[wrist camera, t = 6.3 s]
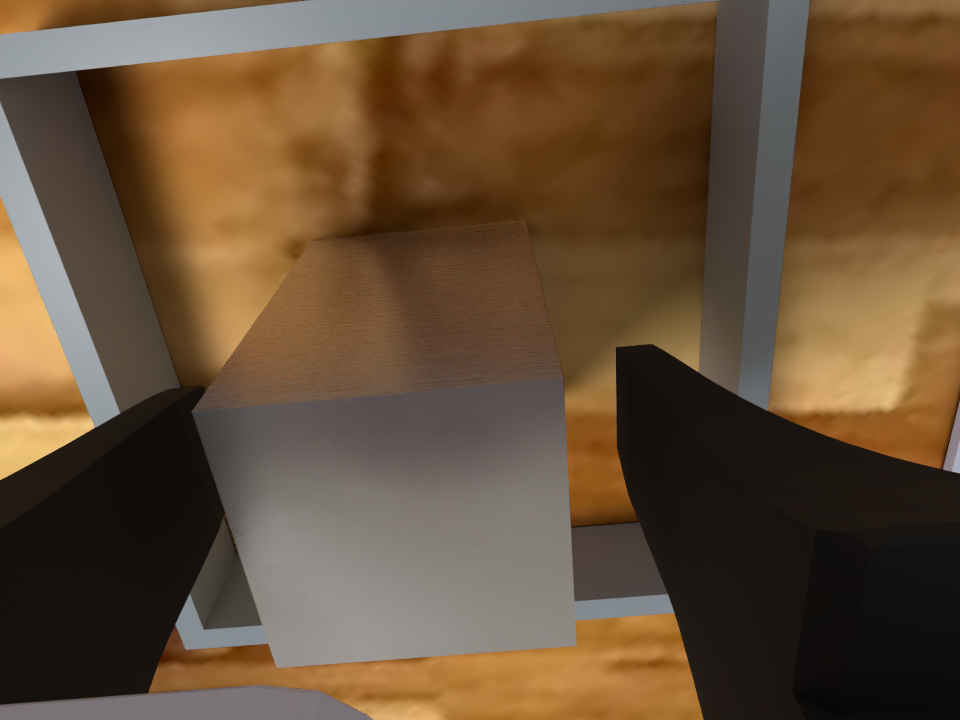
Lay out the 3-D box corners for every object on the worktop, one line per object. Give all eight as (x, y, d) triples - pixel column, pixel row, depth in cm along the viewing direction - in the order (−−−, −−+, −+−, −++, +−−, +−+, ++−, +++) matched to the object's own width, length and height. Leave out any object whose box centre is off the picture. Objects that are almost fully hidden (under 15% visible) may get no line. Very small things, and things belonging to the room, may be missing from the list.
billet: (525, 219, 14) (562, 378, 8) (538, 405, 17) (576, 645, 10) (312, 240, 15) (191, 411, 8) (351, 421, 17) (276, 667, 10)
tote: (753, -44, 12) (815, -57, 10) (714, 534, 18) (747, 607, 16) (31, 36, 13) (-64, 41, 11) (220, 573, 19) (185, 650, 17)
